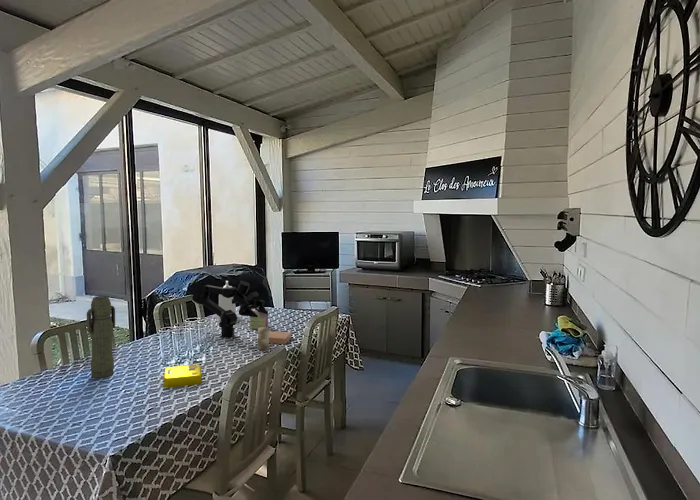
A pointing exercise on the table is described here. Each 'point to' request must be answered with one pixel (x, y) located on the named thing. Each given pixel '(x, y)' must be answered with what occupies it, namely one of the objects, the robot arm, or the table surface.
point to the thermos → (101, 336)
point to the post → (263, 338)
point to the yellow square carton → (182, 375)
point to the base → (279, 337)
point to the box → (258, 320)
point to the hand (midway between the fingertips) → (262, 314)
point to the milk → (226, 302)
